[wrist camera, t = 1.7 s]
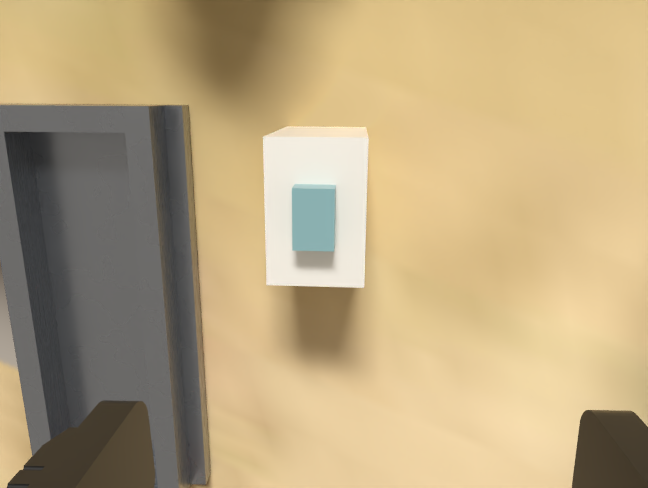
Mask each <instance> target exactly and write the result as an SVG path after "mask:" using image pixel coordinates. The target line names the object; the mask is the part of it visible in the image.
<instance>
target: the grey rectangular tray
mask: <svg viewBox="0 0 648 488" xmlns="http://www.w3.org/2000/svg"><path fill="white" fill-rule="evenodd" d="M0 261H1V267H2V273H3V279H4V285H5V291H6V297H7V304H8V310H9V316H10V321H11V328H12V334H13V340H14V346H15V352H16V358H17V364H18V371H19V377H20V383H21V389H22V395H23V401H24V407H25V413H26V419H27V425H28V431H29V437H30V443H31V450H32V456H33V455H34V454H35V453H36V452H37V451H38V450H39V449H40V448H41V446H42V445H43V444H45V443H47V442H48V441H50V440H51V439H53V438H54V437H56V436H57V435H59V434H60V433H62V432H63V431H65V430H67V429H68V428H70V427H77V428H78V427H79V425H80V424H81V423H82V422H83V421H84V420H85V418H86V417H87V416H88V415H89V414H90V412H91V411H92V410H93V409H94V408H95V407H96V405H97V404H98V403H99V402H101V401H103V400H112V401H143V402H144V403H145V404H146V406H147V410H148V416H149V424H150V432H151V441H152V449H153V458H154V466H155V485H154V488H190V486H191V484H202V485H206V483H207V481H208V478H209V476H210V457H209V440H208V424H207V407H206V390H205V374H204V357H203V340H202V324H201V307H200V291H199V274H198V257H197V241H196V224H195V207H194V191H193V174H192V157H191V141H190V124H189V107H188V105H94V104H0Z"/></svg>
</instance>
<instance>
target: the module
mask: <svg viewBox="0 0 648 488" xmlns="http://www.w3.org/2000/svg"><path fill="white" fill-rule="evenodd" d="M263 154H264V196H265V237H266V279H267V285H282V286H318V287H354V288H364V277H365V242H366V207H367V172H368V134H367V129H366V127H299V126H287V127H284V128H282V129H280V130H277V131H275V132H273V133H270V134H268V135H266V136H263Z"/></svg>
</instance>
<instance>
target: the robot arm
mask: <svg viewBox="0 0 648 488" xmlns="http://www.w3.org/2000/svg"><path fill="white" fill-rule="evenodd" d="M154 485H155V466H154V458H153V449H152V441H151V432H150V424H149V416H148V410H147V406H146V404H145V403H144V402H143V401H112V400H103V401H101V402H99V403H98V404H97V405H96V407H95V408H94V409H93V410H92V411H91V412H90V414H89V415H88V416H87V417H86V418H85V420H84V421H83V422H82V423H81V424H80V425H79V427H78V428H77V427H70V428H68V429H67V430H65V431H63V432H62V433H60V434H59V435H57V436H56V437H54V438H53V439H51V440H50V441H48V442H47V443H45V444H43V445H42V446H41V448H40V449H39V450H38V451H37V452H36V453H35V454H34V455H33V456H32V457H31V459H30V460H29V461H28V462H27V463H26V464H25V465H24V469H23V470H20V471H19V472H18V473H17V474H16V475H15V476H14V477H13V478H12V480H11V481H10V482H9V483H8V486H7V488H154ZM572 488H648V427H647V426H646V425H645V424H644V422H643V421H642V420H641V419H640V418H639V417H638V416H637V415H636V414H635V413H634V412H632V411H609V410H586V411H585V412H584V413H583V414H582V416H581V420H580V426H579V434H578V442H577V450H576V458H575V466H574V474H573V483H572Z"/></svg>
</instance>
